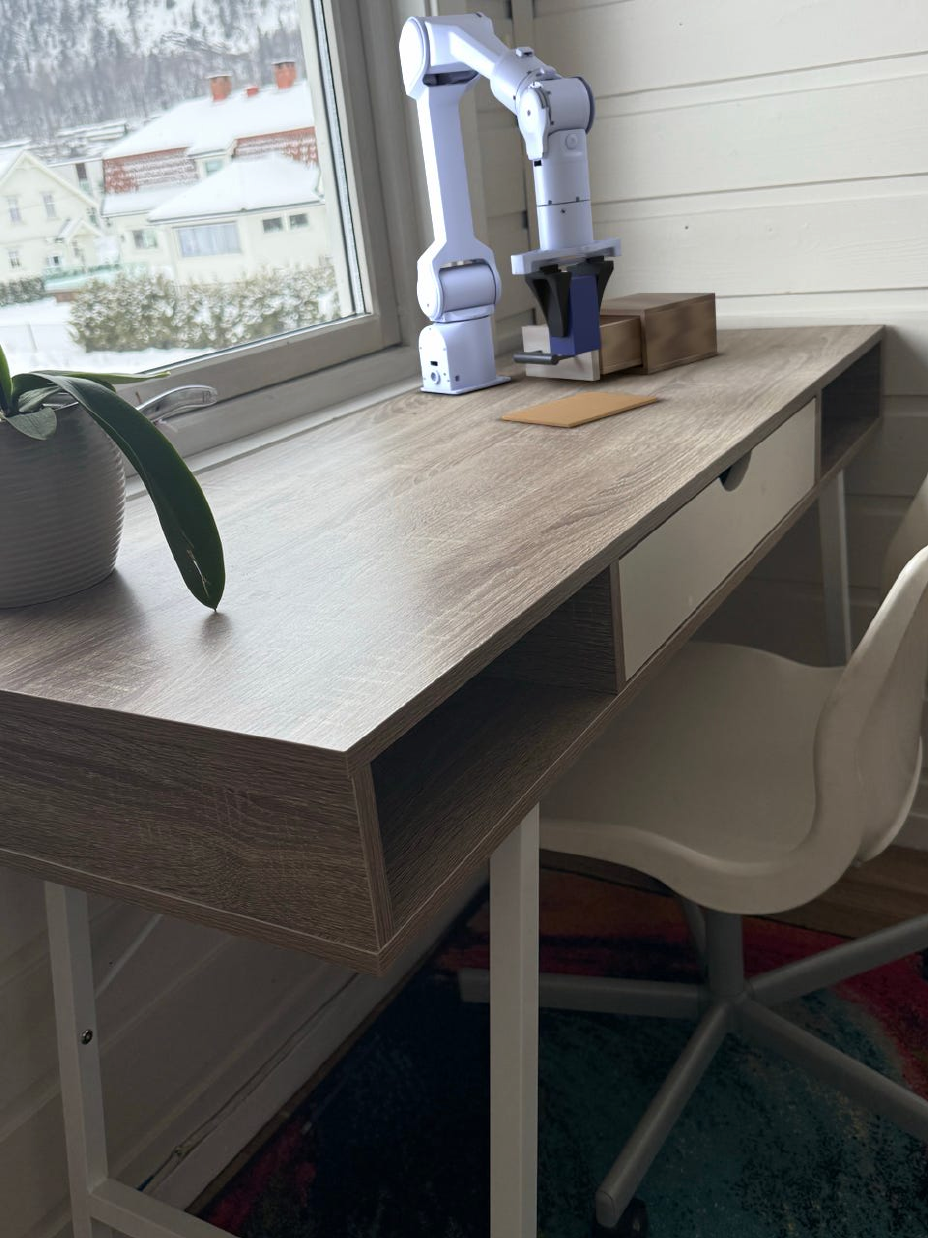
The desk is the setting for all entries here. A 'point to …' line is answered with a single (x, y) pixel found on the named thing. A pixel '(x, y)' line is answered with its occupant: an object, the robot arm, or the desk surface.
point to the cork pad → (579, 409)
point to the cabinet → (669, 327)
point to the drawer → (615, 353)
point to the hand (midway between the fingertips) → (574, 333)
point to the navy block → (580, 319)
